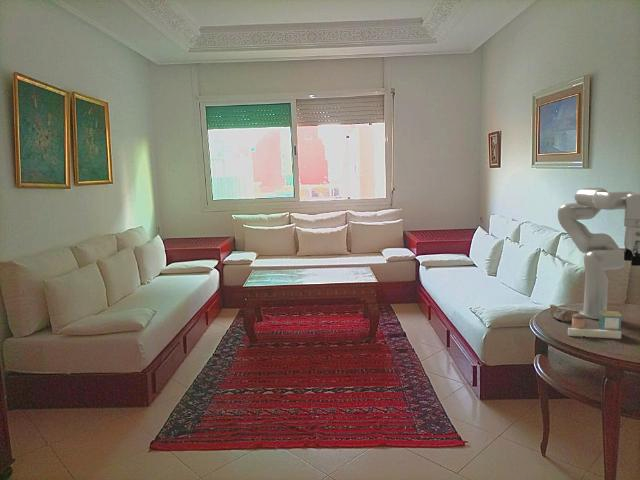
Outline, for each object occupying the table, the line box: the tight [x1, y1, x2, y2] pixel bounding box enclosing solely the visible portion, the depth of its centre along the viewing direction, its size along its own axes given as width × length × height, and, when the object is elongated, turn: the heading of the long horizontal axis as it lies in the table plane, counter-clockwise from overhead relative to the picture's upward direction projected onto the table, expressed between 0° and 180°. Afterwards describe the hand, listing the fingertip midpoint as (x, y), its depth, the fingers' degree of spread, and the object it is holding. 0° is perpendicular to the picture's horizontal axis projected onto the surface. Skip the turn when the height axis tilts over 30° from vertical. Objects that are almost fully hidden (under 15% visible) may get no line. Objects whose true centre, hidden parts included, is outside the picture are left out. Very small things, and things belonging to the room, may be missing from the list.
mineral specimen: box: [549, 304, 580, 323], centre depth 230 cm, size 13×7×6 cm, turn 48°
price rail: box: [567, 327, 622, 340], centre depth 208 cm, size 1×20×3 cm, turn 74°
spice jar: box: [571, 313, 586, 329], centre depth 213 cm, size 5×5×8 cm
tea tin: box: [598, 310, 623, 332], centre depth 210 cm, size 5×7×9 cm
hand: (631, 262), depth 208 cm, fingers open, 9 cm apart
